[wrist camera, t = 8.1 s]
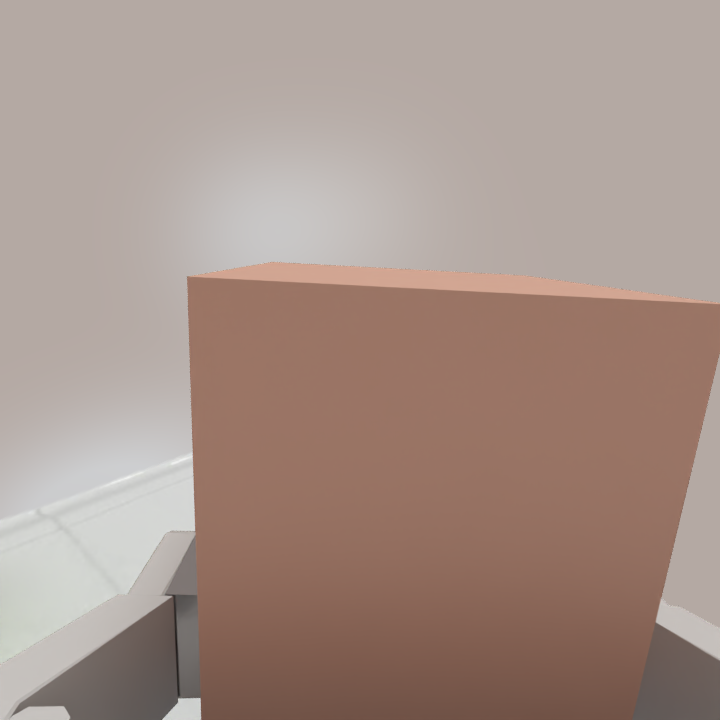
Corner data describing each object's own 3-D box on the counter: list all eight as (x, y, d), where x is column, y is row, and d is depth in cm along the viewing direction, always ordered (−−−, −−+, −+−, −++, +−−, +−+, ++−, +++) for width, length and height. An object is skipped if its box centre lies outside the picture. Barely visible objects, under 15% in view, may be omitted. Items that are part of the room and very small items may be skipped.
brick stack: (460, 760, 12) (525, 275, 9) (540, 1107, 7) (731, 304, 4) (267, 760, 11) (272, 262, 9) (214, 1117, 7) (187, 276, 4)
